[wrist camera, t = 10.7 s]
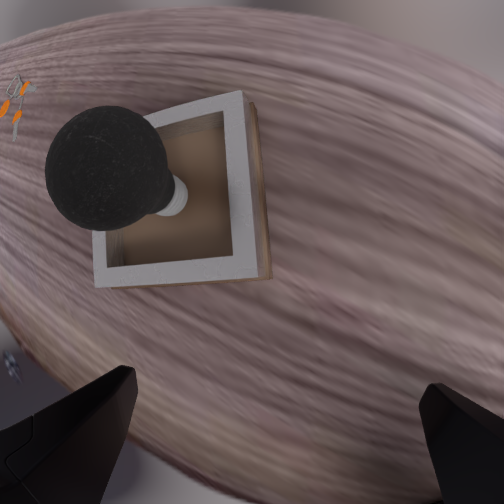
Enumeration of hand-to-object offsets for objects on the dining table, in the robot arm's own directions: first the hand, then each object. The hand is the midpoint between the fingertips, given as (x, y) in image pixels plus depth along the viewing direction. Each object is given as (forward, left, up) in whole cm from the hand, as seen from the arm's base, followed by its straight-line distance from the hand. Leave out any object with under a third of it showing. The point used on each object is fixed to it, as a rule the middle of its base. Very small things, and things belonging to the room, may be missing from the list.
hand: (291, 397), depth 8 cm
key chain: (+27, +33, -11) cm, 44 cm away
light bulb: (+9, +8, -9) cm, 15 cm away
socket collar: (+9, +8, -9) cm, 15 cm away
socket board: (+9, +8, -10) cm, 15 cm away
